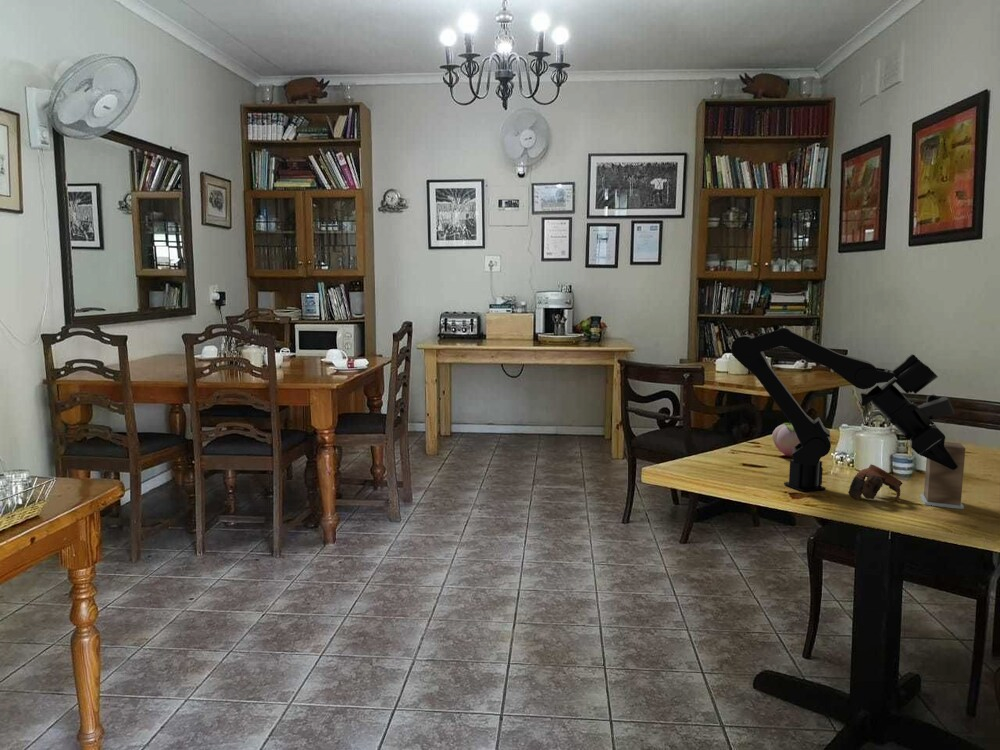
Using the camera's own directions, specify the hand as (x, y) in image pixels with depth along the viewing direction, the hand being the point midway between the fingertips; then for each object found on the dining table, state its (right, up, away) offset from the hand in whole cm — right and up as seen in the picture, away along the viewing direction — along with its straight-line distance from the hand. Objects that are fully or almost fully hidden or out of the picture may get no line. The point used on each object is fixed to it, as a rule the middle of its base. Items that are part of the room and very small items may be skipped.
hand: (952, 463), depth 152 cm
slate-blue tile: (-1, -8, +2) cm, 9 cm away
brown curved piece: (-15, -8, +4) cm, 17 cm away
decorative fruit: (-17, -4, +45) cm, 48 cm away
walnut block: (-1, -8, +1) cm, 8 cm away
